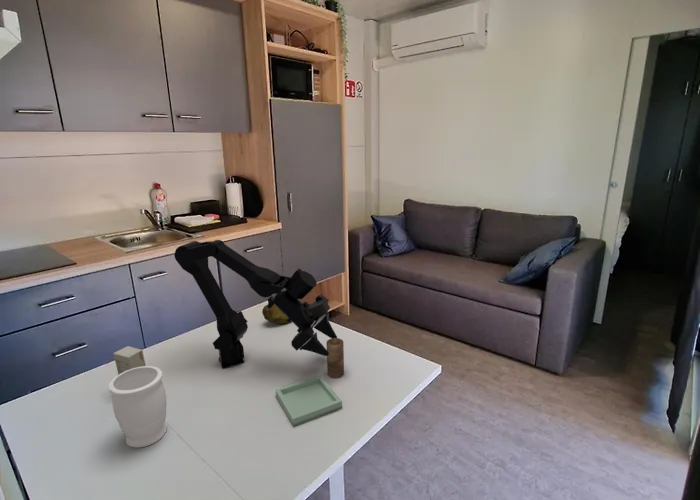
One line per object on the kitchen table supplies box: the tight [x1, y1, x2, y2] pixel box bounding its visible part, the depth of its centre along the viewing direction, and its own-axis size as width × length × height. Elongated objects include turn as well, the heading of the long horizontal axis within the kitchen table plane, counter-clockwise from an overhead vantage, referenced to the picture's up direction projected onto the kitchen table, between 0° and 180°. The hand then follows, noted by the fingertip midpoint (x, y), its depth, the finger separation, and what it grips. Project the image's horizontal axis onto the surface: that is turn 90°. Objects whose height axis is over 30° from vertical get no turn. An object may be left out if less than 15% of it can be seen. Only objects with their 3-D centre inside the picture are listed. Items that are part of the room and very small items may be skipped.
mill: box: [326, 337, 345, 379], centre depth 110 cm, size 5×5×11 cm
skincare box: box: [113, 345, 147, 375], centre depth 103 cm, size 6×4×12 cm
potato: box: [261, 304, 289, 325], centre depth 143 cm, size 8×13×8 cm, turn 109°
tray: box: [275, 374, 343, 427], centre depth 99 cm, size 13×13×2 cm
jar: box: [108, 365, 167, 448], centre depth 87 cm, size 11×10×15 cm
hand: (332, 346), depth 109 cm, fingers open, 9 cm apart
